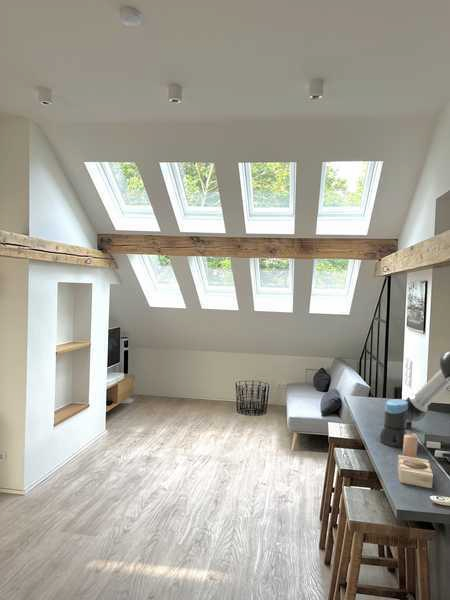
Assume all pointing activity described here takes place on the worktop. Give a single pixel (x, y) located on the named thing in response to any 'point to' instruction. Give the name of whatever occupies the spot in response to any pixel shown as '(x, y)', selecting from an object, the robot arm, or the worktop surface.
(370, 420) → the worktop surface
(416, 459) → the plinth
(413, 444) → the slanted peach cylinder
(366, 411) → the worktop surface
